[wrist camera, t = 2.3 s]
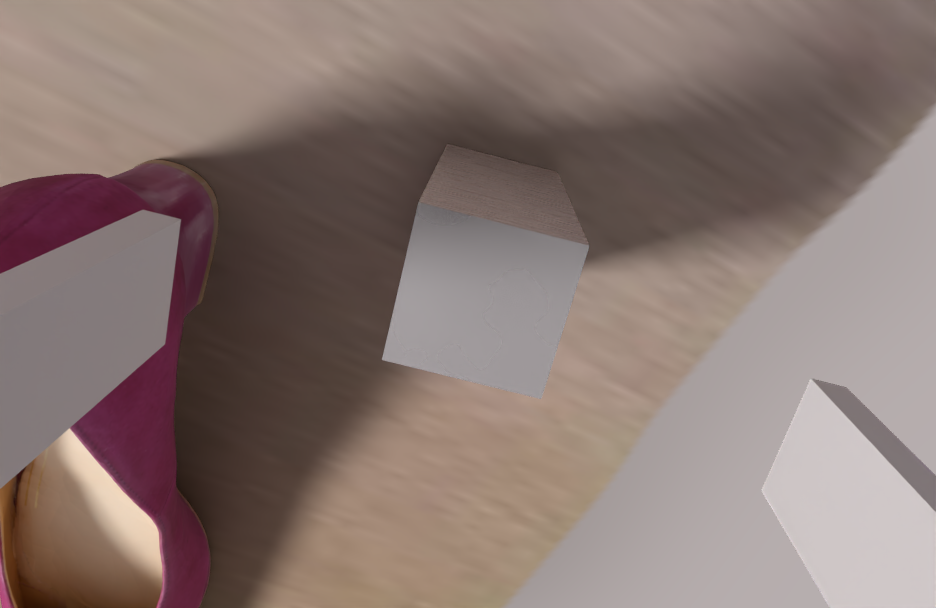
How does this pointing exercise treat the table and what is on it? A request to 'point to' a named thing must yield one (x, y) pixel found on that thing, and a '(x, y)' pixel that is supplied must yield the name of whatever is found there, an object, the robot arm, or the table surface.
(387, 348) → the grey rectangular block
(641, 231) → the table surface
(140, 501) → the high heel
